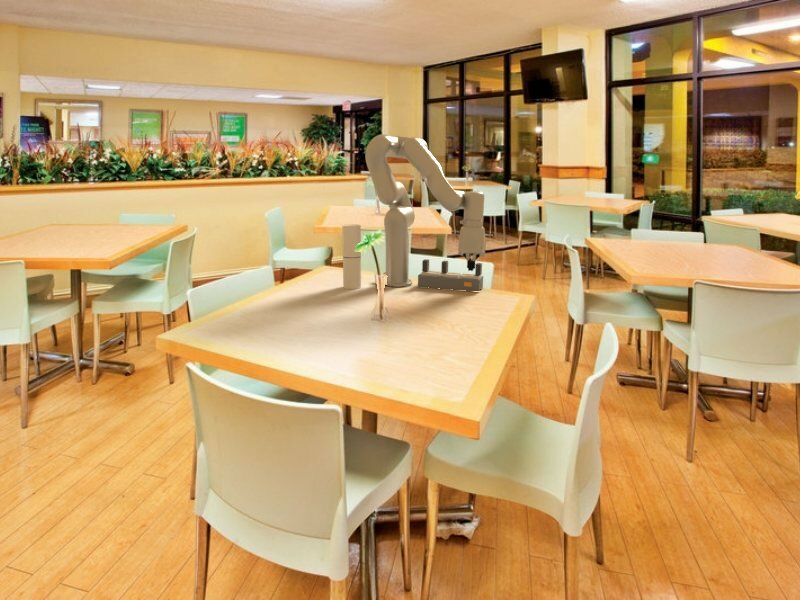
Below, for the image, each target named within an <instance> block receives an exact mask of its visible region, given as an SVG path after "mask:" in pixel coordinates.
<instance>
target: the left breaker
mask: <svg viewBox="0 0 800 600" xmlns="http://www.w3.org/2000/svg"><path fill="white" fill-rule="evenodd" d="M421 265H422V268H421V271H422V272H423V271H426V272H427V271H430V259H423V260H422V264H421Z"/></svg>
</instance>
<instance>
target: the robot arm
mask: <svg viewBox="0 0 800 600" xmlns="http://www.w3.org/2000/svg"><path fill="white" fill-rule="evenodd" d="M387 158H395V159H396V158H397V159H405V160H407V161H408V163H409V164H410V165H411V166H412V167H413V168H414V170H415V171H416V172H417V173H418V175H419V176H420V177H421V178H422V180H423V182H424V183H425V185H426V186H427V188H428V190H429V191H430V193H431V194H432V196H433V197H434V198H435V199H436V200H437V202H438V203H439V204H440V205H441V206H442V207H443V208H444V210H446V211H448V212H455V211H458V210H463V218H462V219H460V220H459V224H460V225H461V224H462V226H461V227H460V231H459V239H458V245H457V247H458V248H457V249H458V252H457V253H458V255H460V256H463V257H464V258H465V259H466V268H467V269H468V272H470V271H471V272H473V271H475V270H474V269H476V261H477V259H479V258H482V257H485V256H486V229H485V227H484V209H485V193H483V191H475V190H474V191H470V190H469V191H463V190H458V189H454V188H453V187H452V185H451V184H450V183H449V182H448V180H447V179H446V177H445V175H444V173H443V169H442V166H441V164H440V163H439V161H438V160H437V159H436V158H435V156H434V155H433V154H432V152H431V151H430V150H429V146H428V144H427V142H426V141H425V140H424V139H423V138H420V137H415V136H412V137H409V136H399V135H389V134H378V135H376V136H374V137H373V138H372V139H371V140H370V141H369V143H368V144H367V146H366V150H365V163H366V166H367V169H368V171H369V174H370V177H371V180H372V184H373V186H374V189H375V191H376V195H377V197H378V200H379V202H380V203H381V204H383V205H384V206H385V205H386V206H388V207H389V210H388V211H387V212H385V213H386V214H385V215H384V219H383V224H384V225H383V227H384V234H385V237H384V238H385V272H382V273H383V274H386V275H387V276H388V277H387V286H386V287H391V286H393V287H392V288H394V287H395V288H396V287H397V288H402V287H401V286H404V287H409V286H412V284H413V280H411V279H409V271H410V269H409V261H410V259H409V258H410V257H409V256H410V255H409V254H410V247H409V246H410V237H409V227H411V226H412V225H413V224H414V222H415V217H416V215H415V211H414V207H413V205H412V203H411V200H410V196H409V194H408V193H409V192H408V190H407V189H406V187H405V185H404V184H403V183H402V182H401V181H399V180H396V179H395V176H394V174H393V171H392V169H391V166H390V164H389V163H388V159H387ZM471 254H472V257H471ZM408 285H409V286H408Z"/></svg>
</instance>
